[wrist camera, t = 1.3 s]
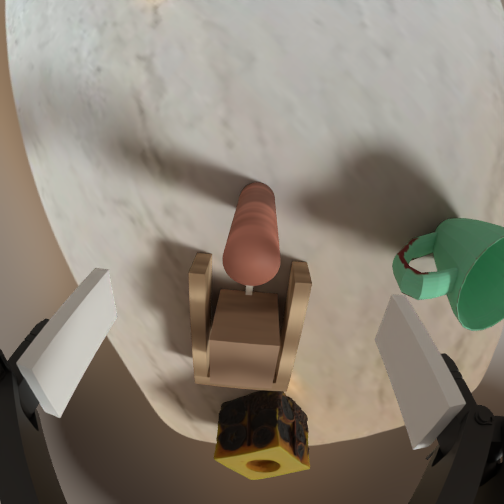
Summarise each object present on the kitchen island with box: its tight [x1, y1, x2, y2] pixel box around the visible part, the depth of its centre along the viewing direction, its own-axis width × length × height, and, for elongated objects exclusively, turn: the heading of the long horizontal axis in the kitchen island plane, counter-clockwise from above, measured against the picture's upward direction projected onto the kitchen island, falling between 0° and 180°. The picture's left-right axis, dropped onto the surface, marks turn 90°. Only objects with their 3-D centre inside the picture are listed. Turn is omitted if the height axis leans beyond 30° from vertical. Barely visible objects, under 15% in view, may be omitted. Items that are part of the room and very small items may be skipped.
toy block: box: [214, 390, 310, 480], centre depth 37 cm, size 10×10×10 cm
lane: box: [188, 253, 312, 391], centre depth 32 cm, size 16×11×4 cm
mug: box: [392, 218, 504, 331], centre depth 24 cm, size 15×10×10 cm
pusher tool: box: [209, 182, 280, 389], centre depth 25 cm, size 18×6×12 cm, turn 176°
